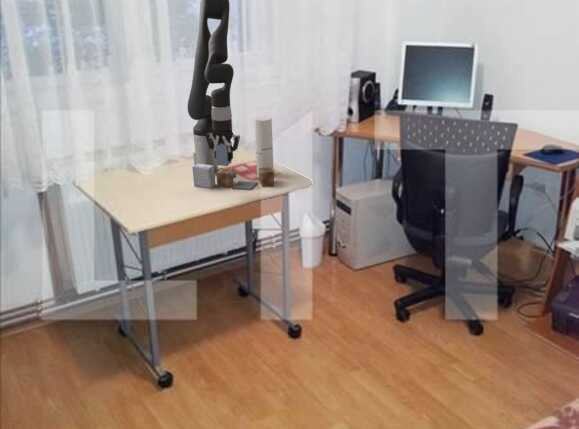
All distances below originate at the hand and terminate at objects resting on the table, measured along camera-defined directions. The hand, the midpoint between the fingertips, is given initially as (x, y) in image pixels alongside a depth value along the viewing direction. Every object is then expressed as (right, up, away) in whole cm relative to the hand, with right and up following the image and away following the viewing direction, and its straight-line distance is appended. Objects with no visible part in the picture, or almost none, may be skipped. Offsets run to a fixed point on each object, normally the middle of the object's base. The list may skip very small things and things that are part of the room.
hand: (224, 159), depth 250 cm
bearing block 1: (-1, -9, +16) cm, 18 cm away
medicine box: (-9, -10, +15) cm, 20 cm away
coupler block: (0, -1, +1) cm, 2 cm away
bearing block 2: (+16, -9, +15) cm, 24 cm away
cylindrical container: (+15, -5, +25) cm, 30 cm away
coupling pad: (+7, -10, +14) cm, 18 cm away
